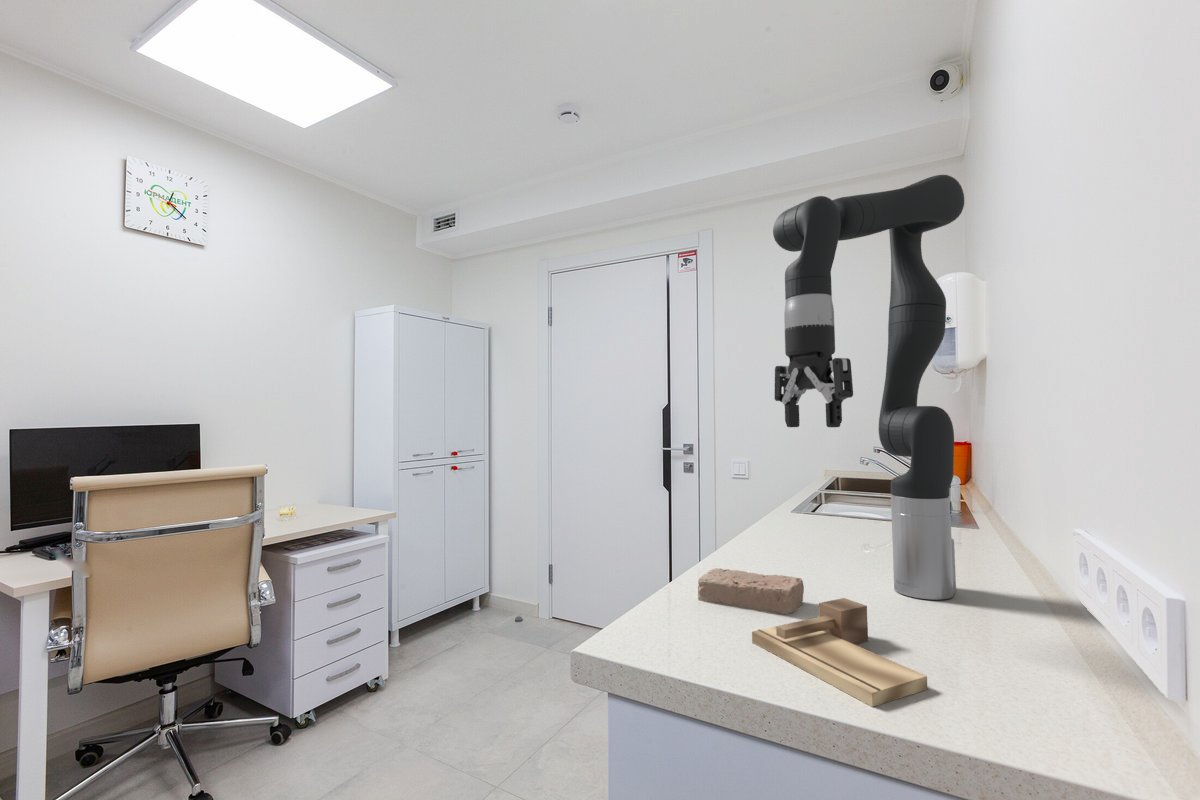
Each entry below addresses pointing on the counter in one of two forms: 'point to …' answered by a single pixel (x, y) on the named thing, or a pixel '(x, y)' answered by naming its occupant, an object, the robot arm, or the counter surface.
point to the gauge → (832, 622)
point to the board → (844, 665)
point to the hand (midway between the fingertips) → (812, 427)
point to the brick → (751, 590)
